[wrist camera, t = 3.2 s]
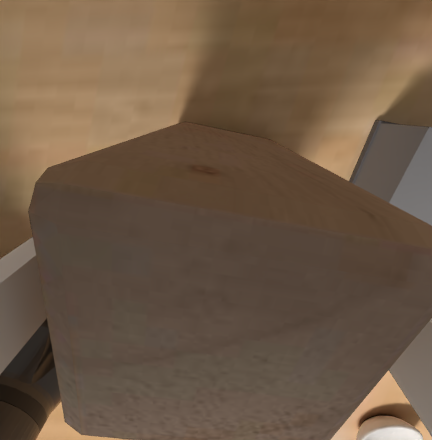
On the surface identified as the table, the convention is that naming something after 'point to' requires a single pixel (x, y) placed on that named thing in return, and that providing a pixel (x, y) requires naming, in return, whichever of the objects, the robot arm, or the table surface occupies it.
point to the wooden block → (221, 288)
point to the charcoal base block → (398, 167)
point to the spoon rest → (387, 429)
